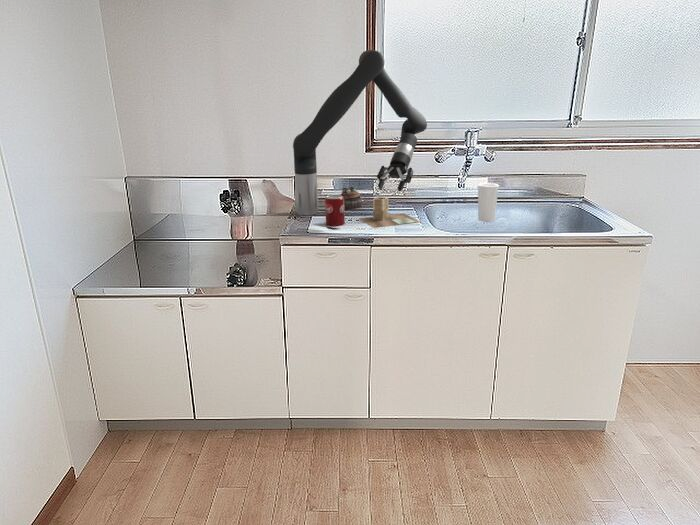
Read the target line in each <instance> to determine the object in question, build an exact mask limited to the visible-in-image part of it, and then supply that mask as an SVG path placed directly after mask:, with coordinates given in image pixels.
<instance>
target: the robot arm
mask: <svg viewBox="0 0 700 525" xmlns="http://www.w3.org/2000/svg"><path fill="white" fill-rule="evenodd" d="M385 62H386V61H385V58H384V55H383V54H382V53H381V52H380V51H379V50H376V49H366V50H364V51H363V52H361V54H360V55H359V58H358V65H357V67H356V68H355V69H354V71H353V72H352V74H351V75H350V76H349V77H348V78H347V79H346V80H344V81H343V82H342V83H341V84H339V85H338V86H337V87H336V88H335V89H334V90H333V91H332V93H331V94H329V96H328V97H327V99H326V100H325V101H324V102H323V104H322V105H321V106H320V108H319V110H318V111H317V113H316V115H315V116H314V118H313V120H312V121H311V123H309V125H308V126H307V127H306V128H305V129H304V130H303V131H302V132H301V133H299V134H298V135H296V136H295V138H293V142H292V149H293V164H294V182H295V183H294V185H295V190H294V191H293V192H294V205H295V208H294V209H295V213H296V214H297V215H299V216H312V215H316V214H318V213H319V195H318V190H319V189H318V174H317V147H318V146H319V144H320V143H321V142H322V140H323V139H324V138H325V136H326V135H327V134H328V133H329V132H330V131H331V130H332V128H334V127H335V126H336V124H337V123H339V122H340V120H341V119H342V118H343V117H344V116H345V114H347V112H348V111H349V110H350V108H351V107H352V106H353V104H354V103H355V102H356V101H357V99H358V98H359V96H360V95H361V94H362V92H363V91H364V89H366V87H367V86H368V85H369V84H370V83H372V82H373V83H374V84H375V85H376V87H377V88H378V89H379V91H380V92H381V93H382V95H383V96H384V99H386V101H387V103H388V104H389V106H390V107H391V108H392V110H393V111H394V112H395V114H396V116H398V117H399V118H403V119H404V118H405V120H404V122H403V123H402V125H401V129H400V130H401V131H400V132H401V133H400V139H399V141H398V144H397V145H396V148H395V149H394V152H393V155H392V156H391V159H390V162H389V166H385V165H381V166H380V167H381V168H380V169H379V171H378V173H377V175H376V177H377V179H378V184H377V188H378V190H383V188H384V185H385V182H386V181H389V180H391V179H400V181H399V183H398V185H397V188H396V189H397V191H398V192H401V191H403V189H404V187H405V185H406V184H410V183H411V181H412V178H413V175H414V170H413V168H412V167H411V166H410V163H411V162H412V158H413V155H414V153H415V152H414V151H415V149H416V146H417V144H418V138H417V137H416V136H417V134H421V133H423V132H425V130H426V129H427V126H428V122H427V119H426V117H425V115H423V114H422V112H420V111H419V110H418V109H417V108H415V107H414V106H413V105H412V104H411V102H410V101H409V99H408V98H407V97H406V95H405V94H404V92H403V91H402V89H401V88H400V87H399V86H398V85H397V84H396V83H395V82H394V81H393V80H392V78H391V77H390V76H389V75H390V74H388V72H387V71H386V68H385V67H384V66H385ZM409 166H410V167H409ZM404 175H406V176H405V177H404Z"/></svg>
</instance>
